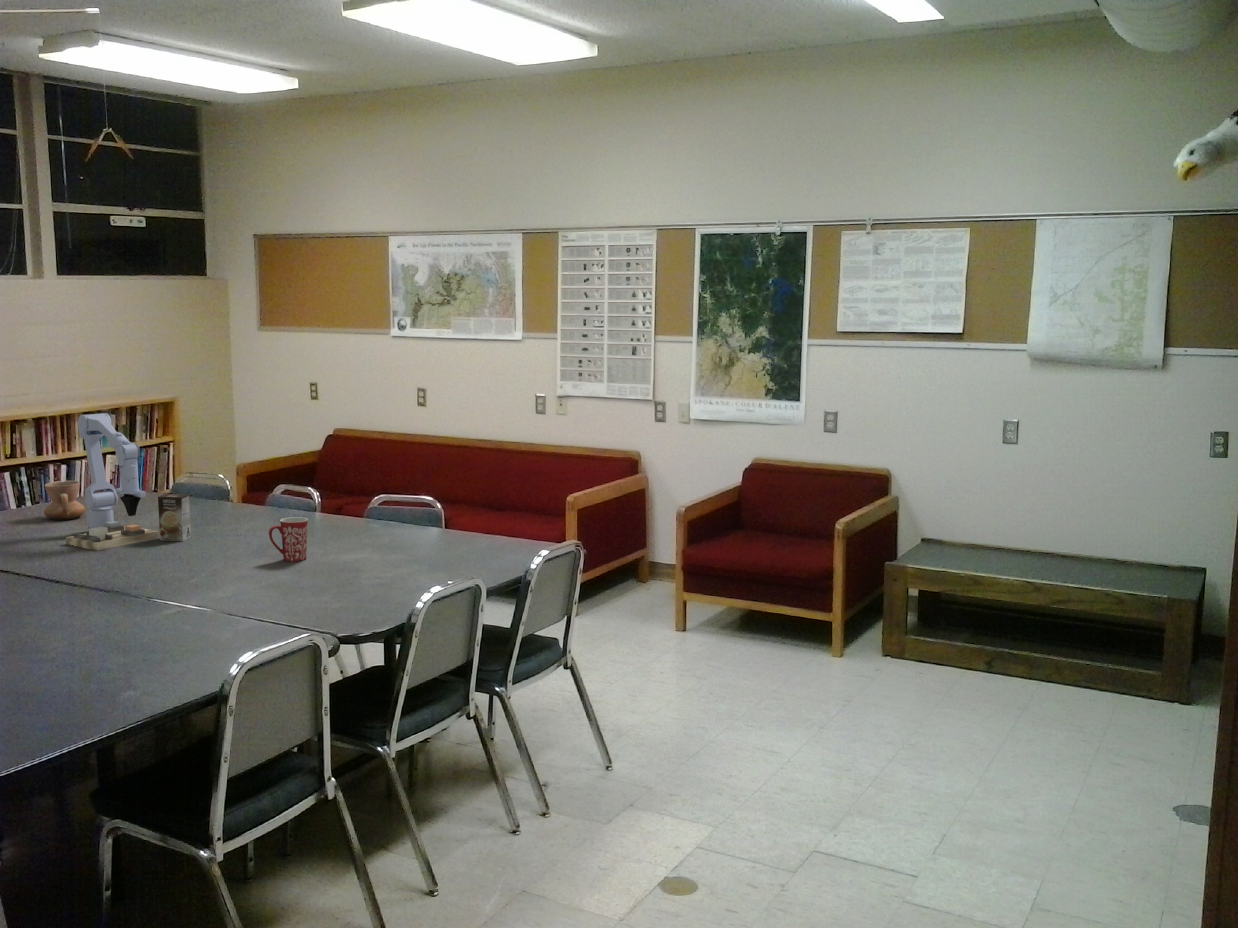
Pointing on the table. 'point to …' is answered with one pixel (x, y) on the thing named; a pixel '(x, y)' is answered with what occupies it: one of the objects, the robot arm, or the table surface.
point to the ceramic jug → (63, 500)
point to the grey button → (112, 524)
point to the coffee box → (174, 517)
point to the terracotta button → (132, 527)
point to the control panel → (111, 538)
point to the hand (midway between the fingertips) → (131, 515)
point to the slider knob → (98, 532)
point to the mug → (292, 538)
